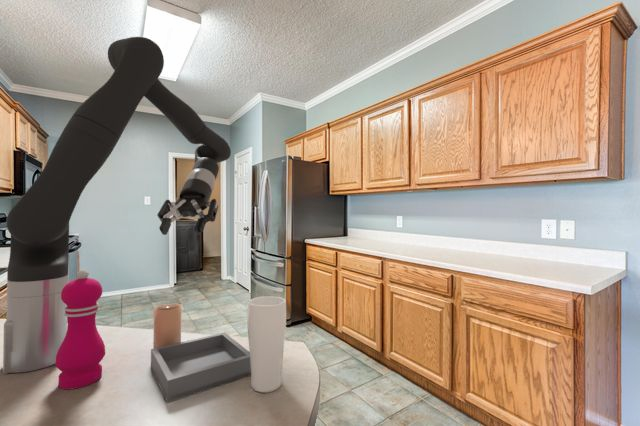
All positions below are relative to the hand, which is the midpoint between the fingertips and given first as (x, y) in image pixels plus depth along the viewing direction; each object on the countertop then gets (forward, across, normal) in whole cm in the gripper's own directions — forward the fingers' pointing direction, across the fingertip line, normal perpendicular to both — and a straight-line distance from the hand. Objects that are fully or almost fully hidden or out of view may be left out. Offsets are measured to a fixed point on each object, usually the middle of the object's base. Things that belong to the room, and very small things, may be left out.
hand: (180, 232), depth 77 cm
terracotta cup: (+25, +1, +11) cm, 27 cm away
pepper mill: (+33, -8, +2) cm, 34 cm away
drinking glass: (+33, +26, +3) cm, 42 cm away
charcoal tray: (+30, +12, +6) cm, 32 cm away
